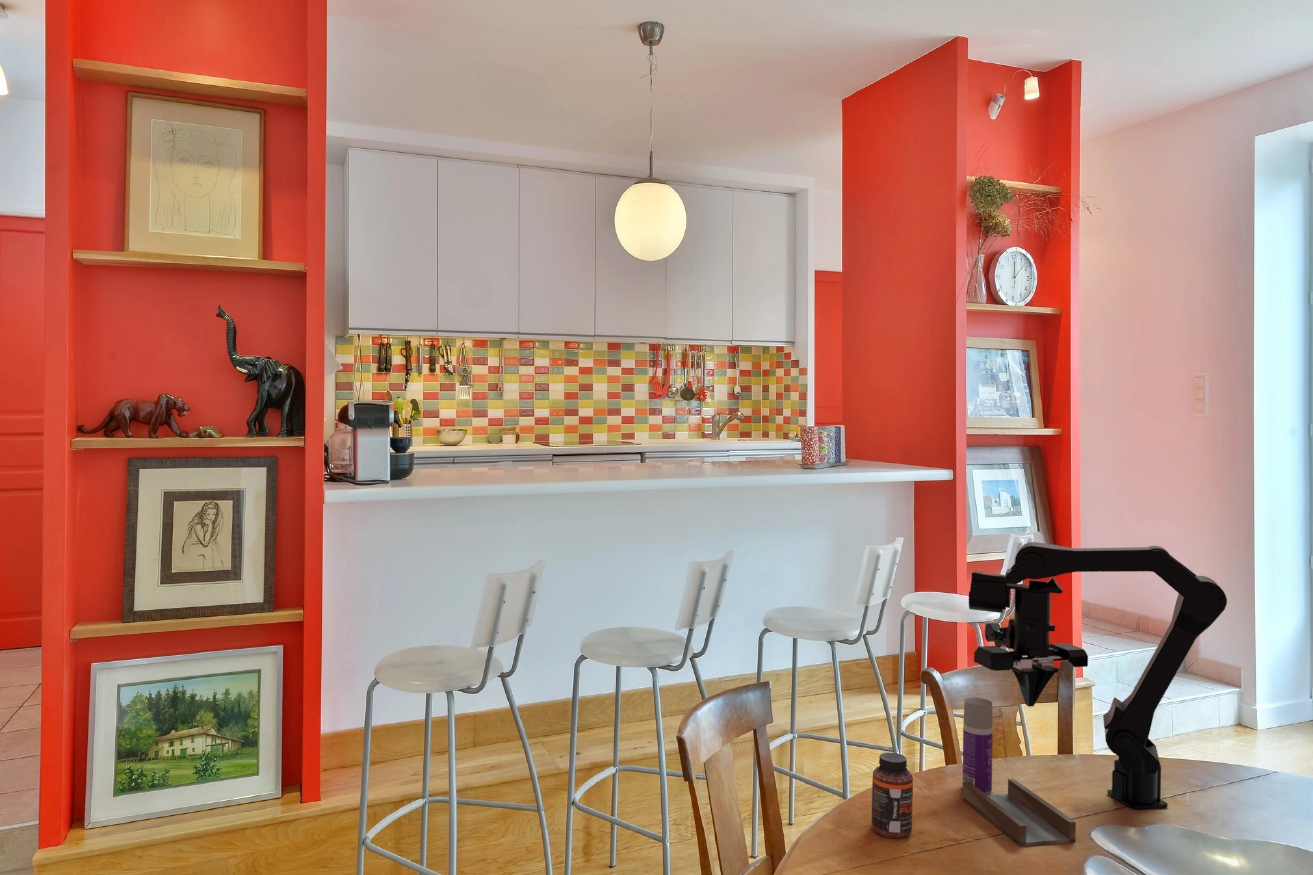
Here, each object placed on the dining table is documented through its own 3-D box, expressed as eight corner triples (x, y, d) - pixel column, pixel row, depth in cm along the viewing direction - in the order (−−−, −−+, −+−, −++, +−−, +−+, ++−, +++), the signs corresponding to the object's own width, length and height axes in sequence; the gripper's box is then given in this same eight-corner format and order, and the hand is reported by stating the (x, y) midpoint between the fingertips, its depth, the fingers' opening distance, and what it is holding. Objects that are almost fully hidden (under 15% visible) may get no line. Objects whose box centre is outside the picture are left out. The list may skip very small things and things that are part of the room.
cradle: (1013, 796, 144) (1013, 778, 144) (1075, 841, 128) (1075, 821, 128) (963, 799, 143) (963, 781, 143) (1020, 846, 127) (1020, 826, 127)
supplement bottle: (905, 844, 127) (906, 767, 127) (866, 833, 130) (867, 758, 130) (916, 828, 132) (917, 754, 132) (878, 818, 136) (879, 746, 135)
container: (994, 796, 144) (995, 706, 144) (964, 793, 145) (965, 704, 145) (989, 785, 149) (990, 698, 148) (960, 782, 150) (961, 696, 149)
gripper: (1049, 605, 160) (1046, 689, 160) (957, 607, 156) (955, 693, 156) (1091, 618, 149) (1088, 708, 149) (994, 621, 145) (991, 714, 145)
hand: (1029, 705), depth 150 cm, fingers closed
